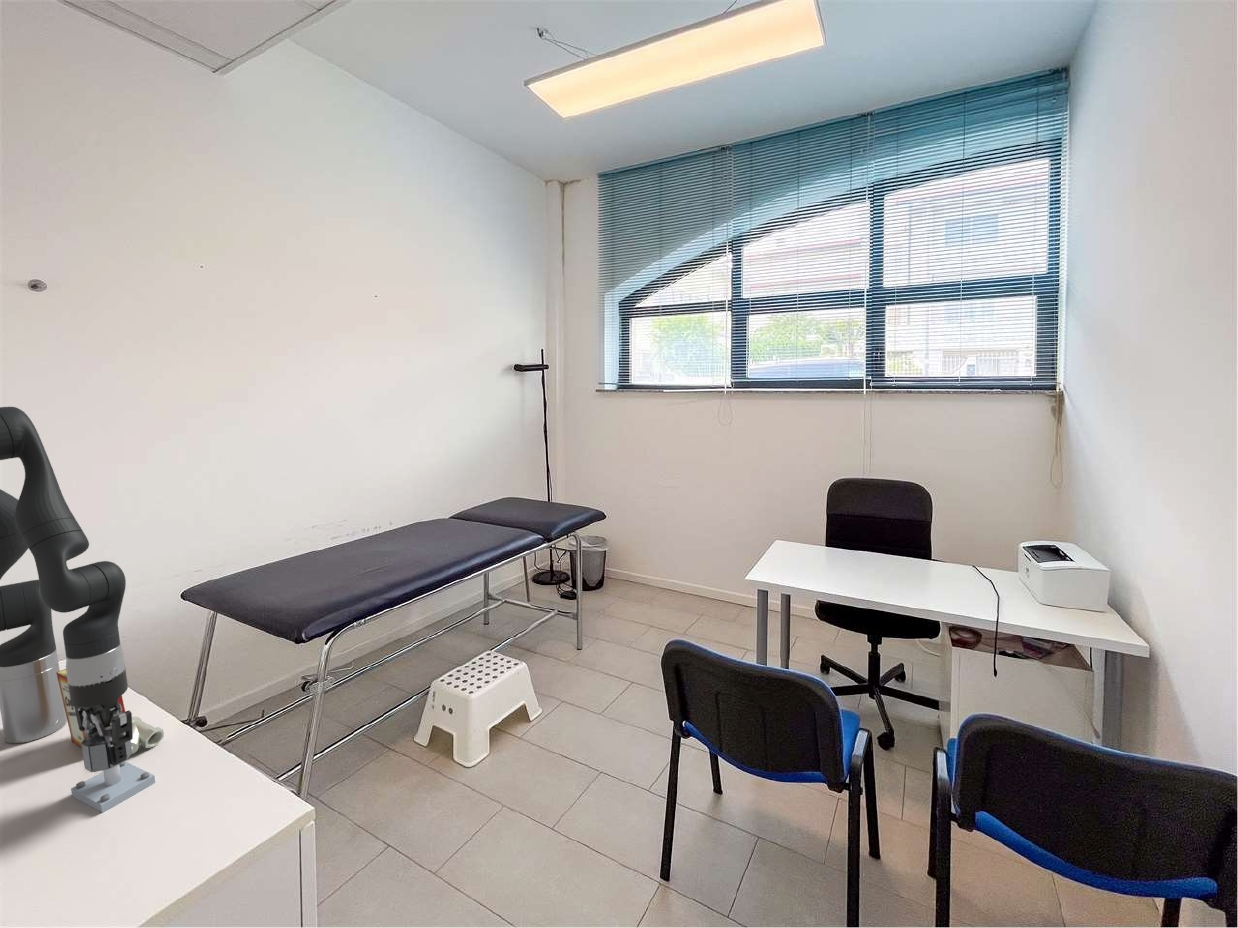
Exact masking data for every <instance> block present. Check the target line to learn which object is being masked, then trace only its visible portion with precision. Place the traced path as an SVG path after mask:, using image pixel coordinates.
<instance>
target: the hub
mask: <svg viewBox="0 0 1238 928" xmlns="http://www.w3.org/2000/svg"><path fill="white" fill-rule="evenodd" d="M111 728H112V726H110V727H107V728H105V730H109V729H111ZM119 736H120V735H119ZM111 737H112V733H111ZM81 746H82V748H81V752H82V758H83V765H84V766H83V767H84V770H86V771H88V772H90V773H97V772H103V770H107V769H109V768H113V767H115V766H116V765H111V764H110V759H109V751H108V746H107V742H106V740H105V737H101V736H100V735H99V732H98V731H96V732H94V733H92V734H89V735H88V736H87V737H86V738H85V739H84V740H83V741H82V743H81ZM125 746H126V753H127V758H126V760H124V761H126V762H127V760H128V759H129V757H130V756H131V753H132V747H131V740H130V741H128V742H125ZM124 761H122V762H124ZM122 762H120V763H122ZM120 763H119V764H120ZM117 765H118V764H117Z"/></svg>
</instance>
